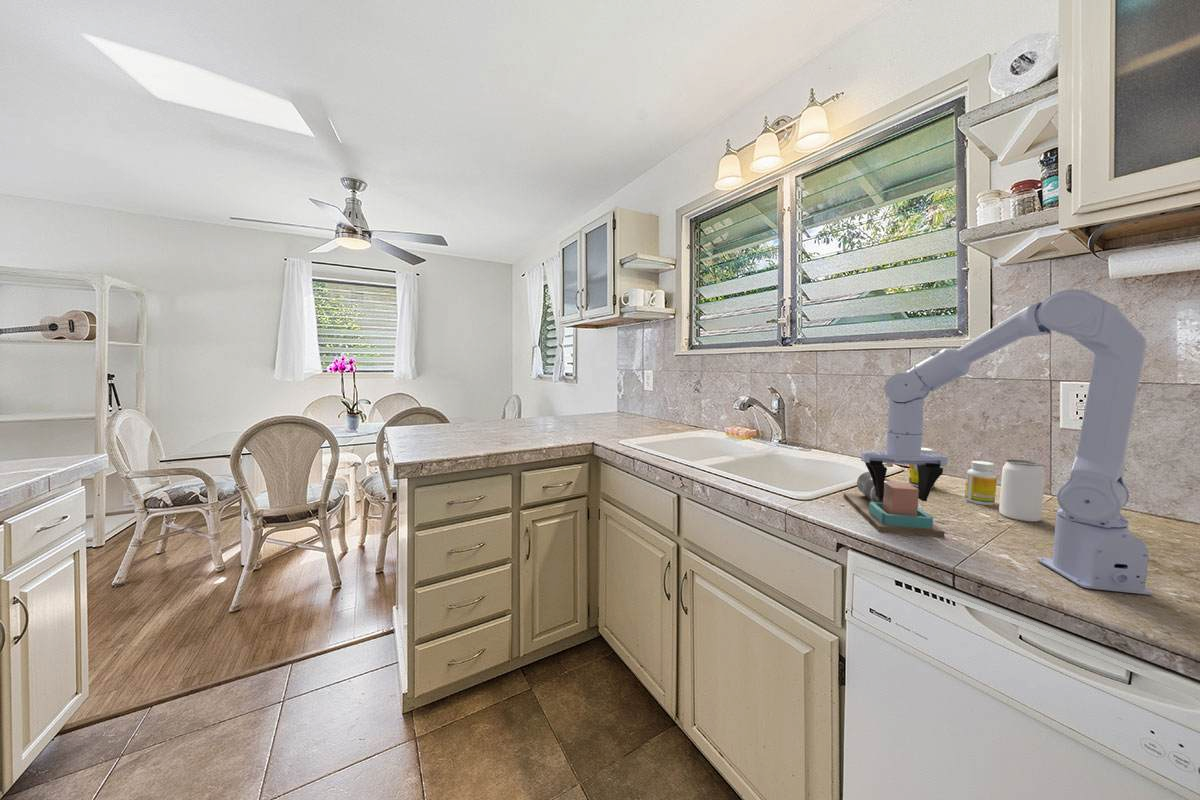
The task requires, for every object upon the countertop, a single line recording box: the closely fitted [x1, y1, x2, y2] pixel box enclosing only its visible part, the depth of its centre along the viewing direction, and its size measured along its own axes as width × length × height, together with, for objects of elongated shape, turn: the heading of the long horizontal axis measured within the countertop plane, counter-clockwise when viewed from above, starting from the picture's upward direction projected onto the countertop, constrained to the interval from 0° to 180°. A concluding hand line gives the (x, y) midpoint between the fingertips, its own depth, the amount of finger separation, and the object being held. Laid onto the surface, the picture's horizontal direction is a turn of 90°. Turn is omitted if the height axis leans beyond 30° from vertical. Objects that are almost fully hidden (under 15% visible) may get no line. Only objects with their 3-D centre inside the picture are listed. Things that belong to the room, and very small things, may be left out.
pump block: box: [882, 481, 919, 516], centre depth 87 cm, size 4×4×7 cm
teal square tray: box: [869, 501, 934, 529], centre depth 87 cm, size 9×9×2 cm
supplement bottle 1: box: [908, 447, 936, 489], centre depth 114 cm, size 6×6×10 cm
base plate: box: [843, 492, 946, 538], centre depth 93 cm, size 22×11×1 cm, turn 166°
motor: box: [856, 471, 895, 502], centre depth 97 cm, size 12×6×6 cm, turn 166°
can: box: [998, 459, 1046, 523], centre depth 91 cm, size 6×6×12 cm
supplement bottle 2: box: [964, 460, 998, 506], centre depth 101 cm, size 5×5×10 cm
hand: (900, 498), depth 87 cm, fingers open, 7 cm apart
